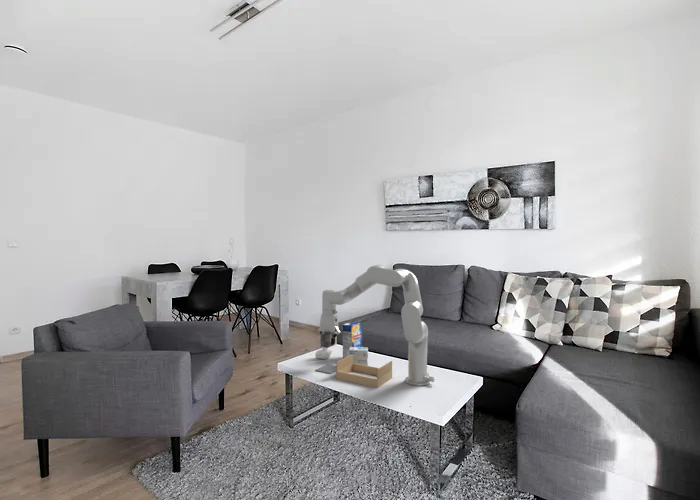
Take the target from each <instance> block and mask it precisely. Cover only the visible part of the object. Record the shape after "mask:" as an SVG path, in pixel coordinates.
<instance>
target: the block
mask: <svg viewBox="0 0 700 500" xmlns="http://www.w3.org/2000/svg"><path fill="white" fill-rule="evenodd" d="M335 333H337V332H335ZM337 337H338V335H337V336H336V337H335V344H334V345H331V338H332V336H331V333H328V332H325V333H322V334H320V347H321V348H323V347H326V348H331V347H333V346H335V345H336V346H337V344H338V340H337V339H338V338H337Z"/></svg>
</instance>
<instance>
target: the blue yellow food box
mask: <svg viewBox="0 0 700 500" xmlns="http://www.w3.org/2000/svg"><path fill="white" fill-rule="evenodd" d="M350 347H363V323H362V322H358V321H357V322H356V321H351V322H347V323H344V324H342V359H343V358H345V357H347V356H349V349H350Z"/></svg>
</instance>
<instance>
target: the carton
mask: <svg viewBox="0 0 700 500" xmlns="http://www.w3.org/2000/svg"><path fill="white" fill-rule="evenodd" d="M335 364H336V365H335V366H336V371H335V372H336V373H335V379H336V380H341V381H345V382H349V383H355V384H359V385H363V386H367V387H368V386H369V387H373V388H377V389H379V388H380V387H382V386H383V385H384V384H385V383H387V382H389V381H391V379H393V360H391V361H389V362H387V363H385V364H384V365H382V366H381V367H377V366H371V365H368V366H366V365H361V364H356V363H353V354H351V355H349V356H347V357H345V358H343V357H342V359H339V360H338V361H336V363H335ZM352 371H353V372H358V373H363V374H368V375H373V376H376V378H374V377H369V376H365V375H361V374H360V375H359V374H354V373H351V372H352Z"/></svg>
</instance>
